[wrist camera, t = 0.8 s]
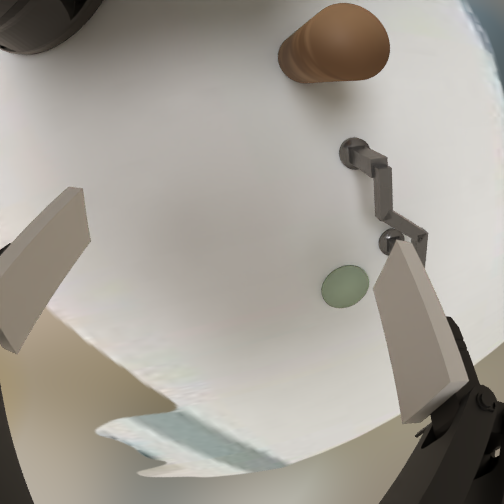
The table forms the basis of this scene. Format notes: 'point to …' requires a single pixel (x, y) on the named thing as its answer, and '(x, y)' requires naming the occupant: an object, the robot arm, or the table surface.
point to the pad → (345, 286)
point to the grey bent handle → (383, 196)
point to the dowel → (336, 46)
